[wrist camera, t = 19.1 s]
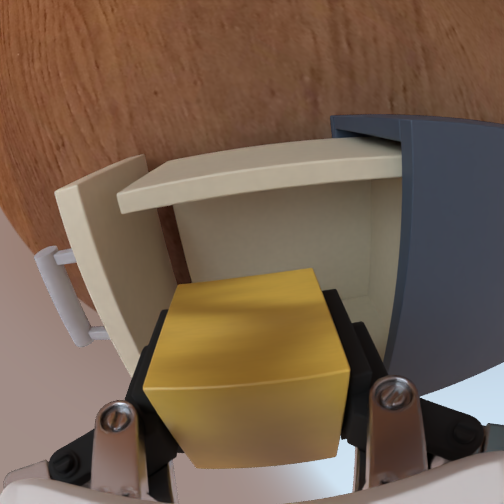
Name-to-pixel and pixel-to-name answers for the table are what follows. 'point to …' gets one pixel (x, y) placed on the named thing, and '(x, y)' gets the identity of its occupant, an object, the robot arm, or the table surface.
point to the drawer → (230, 231)
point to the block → (250, 372)
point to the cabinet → (444, 246)
